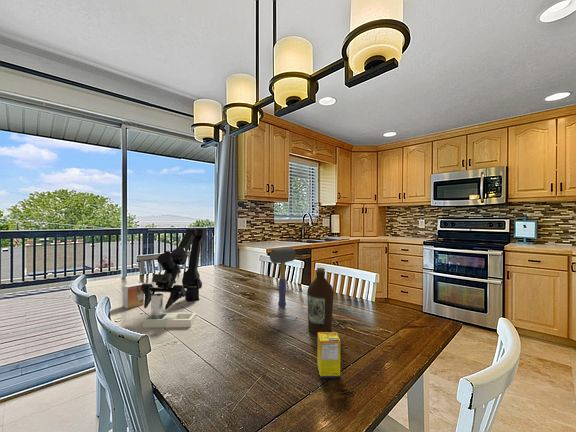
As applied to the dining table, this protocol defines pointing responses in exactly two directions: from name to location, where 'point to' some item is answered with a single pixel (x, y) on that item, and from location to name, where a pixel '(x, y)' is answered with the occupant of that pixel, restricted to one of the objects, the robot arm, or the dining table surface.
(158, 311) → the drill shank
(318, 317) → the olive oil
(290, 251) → the rubber mallet
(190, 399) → the dining table surface
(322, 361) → the supplement box
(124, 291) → the small box
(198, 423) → the dining table surface
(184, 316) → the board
